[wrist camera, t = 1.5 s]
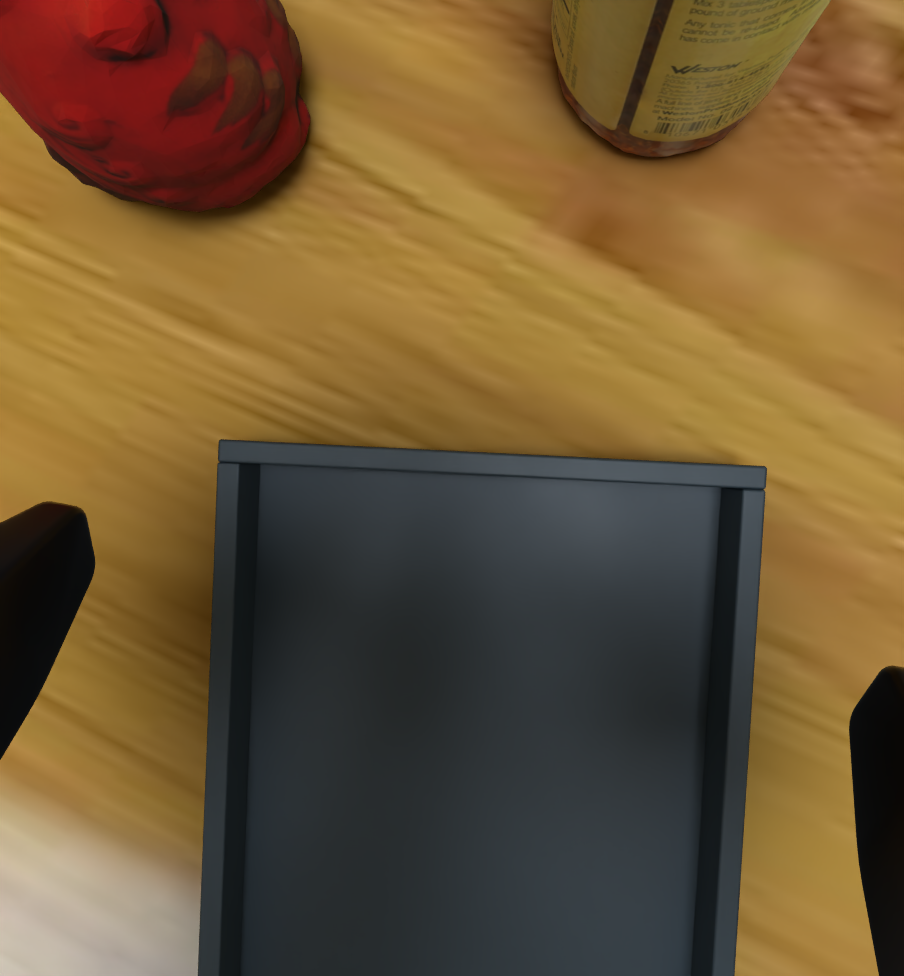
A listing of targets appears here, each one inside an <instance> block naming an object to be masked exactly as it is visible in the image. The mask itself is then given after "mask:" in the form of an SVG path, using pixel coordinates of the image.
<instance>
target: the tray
mask: <svg viewBox="0 0 904 976" xmlns="http://www.w3.org/2000/svg"><path fill="white" fill-rule="evenodd" d="M218 460H219V463H218V468H217V494H216V520H215V546H214V572H213V598H212V623H211V649H210V675H209V701H208V727H207V753H206V779H205V805H204V831H203V856H202V882H201V908H200V934H199V960H198V976H734V973H735V957H736V942H737V926H738V911H739V895H740V879H741V864H742V848H743V833H744V817H745V802H746V786H747V770H748V755H749V739H750V724H751V708H752V693H753V677H754V661H755V646H756V630H757V615H758V599H759V584H760V568H761V553H762V537H763V521H764V506H765V491H764V490H763V489H765V487H766V475H767V468H766V467H765V466H751V465H730V464H710V463H690V462H670V461H649V460H629V459H609V458H588V457H568V456H548V455H528V454H507V453H487V452H467V451H447V450H426V449H406V448H386V447H365V446H345V445H325V444H305V443H284V442H264V441H244V440H224V439H221V440H219V449H218Z"/></svg>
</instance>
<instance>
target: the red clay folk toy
mask: <svg viewBox="0 0 904 976" xmlns="http://www.w3.org/2000/svg"><path fill="white" fill-rule="evenodd" d="M301 71H302V56H301V53H300V47H299V42H298V40H297V37H296V35H295V32H294V30H293V29H292V28H291V27H290V25H289V23H288V22H287V18H286V14H285V10H284V8H283V6H282V4H281V2H280V1H279V0H0V92H1V93H2V95H3V96H4V97H5V98H6V99H7V100H8V102H9V103H10V104H11V105H12V106H13V107H14V109H15V110H16V111H17V112H18V113H19V114H20V116H21V117H22V118H23V119H24V120H25V122H26V123H27V124H28V125H29V126H30V127H31V129H32V130H33V131H34V132H35V133H37V134H38V135H39V136H40V137H41V138H42V139H43V140H44V143H45V145H46V148H47V150H48V152H49V154H50V155H51V156H52V158H53V159H54V160H55V161H57V162H58V163H59V164H61V165H62V166H64V167H65V168H67V169H68V170H69V171H70V172H71V173H72V174H73V175H74V176H75V177H76V178H77V179H79V180H80V181H81V182H82V183H83V184H86V185H90V186H93V187H97V188H99V189H101V190H103V191H105V192H107V193H109V194H111V195H113V196H115V197H117V198H119V199H122V200H127V201H144V202H147V203H150V204H153V205H158V206H163V207H169V208H172V209H178V210H183V211H195V212H202V211H205V210H208V209H212V208H219V207H225V208H230V207H233V206H236V205H238V204H241V203H242V202H244V201H246V200H248V199H250V198H252V197H253V196H254V195H256V194H257V193H258V192H259V191H260V190H261V189H262V188H263V187H264V186H265V185H266V184H268V183H269V182H271V181H272V180H274V179H275V178H276V177H277V176H278V175H279V174H280V173H281V172H282V171H283V170H284V169H285V168H286V167H287V166H288V165H290V163H291V162H292V161H294V159H295V158H296V157H297V155H298V154H299V152H300V151H301V149H302V147H303V145H304V144H305V142H306V135H307V132H308V127H309V124H310V115H309V112H308V110H307V107H306V105H305V103H304V101H303V99H302V98H301V96H300V94H299V83H300V76H301Z"/></svg>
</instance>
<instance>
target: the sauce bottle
mask: <svg viewBox="0 0 904 976" xmlns="http://www.w3.org/2000/svg"><path fill="white" fill-rule="evenodd" d="M830 1H831V0H553V6H552V15H551V29H552V40H553V48H554V52H555V56H556V60H557V63H558V74H559V81H560V85H561V88H562V92H563V95H564V97H565V98H566V100H567V101H568V102H569V104H570V105H571V106H572V107H573V109H574V110H575V112H576V113H577V115H578V116H579V118H580V119H581V120H582V121H583V122H585V123H586V124H587V125H589V126H590V127H591V129H592V130H594V131H595V132H596V133H597V134H598V135H599V136H600V137H602V138H604V139H606V140H608V141H609V142H610V143H611V144H612V145H614V146H615V147H618V148H620V149H621V150H622V151H624V152H628V153H633V154H637V155H640V156H649V157H658V156H662V157H667V156H671V155H674V154H680V153H684V152H689V151H694V150H697V149H700V148H703V147H707V146H709V145H711V144H713V143H715V142H718V141H720V140H721V139H723V138H724V137H725V136H726V135H727V134H728V133H729V131H731V130H732V129H733V128H734V127H735V126H736V125H737V124H738V123H739V122H740V121H742V120H743V118H744V117H745V116H746V115H747V114H748V113H749V112H750V111H751V110H752V109H753V108H755V107H756V106H757V105H758V104H759V103H760V102H761V101H762V100H763V99H764V98H765V97H766V96H767V95H768V94H769V92H770V91H771V90H772V88H773V87H774V85H775V84H776V82H777V80H778V79H779V77H780V76H781V74H782V73H783V71H784V70H785V68H786V67H787V65H788V64H789V62H790V61H791V59H792V58H793V56H794V54H795V53H796V51H797V50H798V48H799V47H800V45H801V44H802V42H803V41H804V39H805V38H806V36H807V35H808V33H809V32H810V30H811V29H812V27H813V26H814V24H815V23H816V21H817V20H818V18H819V17H820V16H821V14H822V13H823V11H824V10H825V8H826V7H827V5H828V4H829V2H830Z"/></svg>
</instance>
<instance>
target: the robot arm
mask: <svg viewBox="0 0 904 976" xmlns="http://www.w3.org/2000/svg"><path fill="white" fill-rule="evenodd" d="M94 569H95V556H94V551H93V546H92V541H91V536H90V531H89V527H88V522H87V518H86V514H85V513H84V511H83V510H82V509H81V508H79V507H77V506H72V505H67V504H62V503H56V502H42V503H40V504H37V505H35V506H33V507H31V508H29V509H27V510H25V511H23V512H21V513H19V514H17V515H15V516H13V517H11V518H9V519H7V520H5V521H3V522H1V523H0V760H1V758H2V756H3V755H4V753H5V751H6V750H7V748H8V746H9V745H10V743H11V741H12V740H13V738H14V736H15V735H16V733H17V731H18V730H19V728H20V726H21V725H22V723H23V721H24V720H25V718H26V716H27V715H28V713H29V711H30V709H31V708H32V706H33V704H34V702H35V700H36V699H37V697H38V695H39V693H40V691H41V689H42V687H43V685H44V683H45V681H46V679H47V677H48V675H49V673H50V670H51V668H52V666H53V664H54V662H55V659H56V657H57V655H58V653H59V651H60V648H61V646H62V644H63V642H64V640H65V637H66V635H67V633H68V631H69V629H70V626H71V624H72V622H73V620H74V618H75V615H76V613H77V611H78V609H79V607H80V604H81V602H82V600H83V598H84V596H85V593H86V591H87V589H88V587H89V585H90V582H91V580H92V577H93V574H94ZM849 735H850V749H851V764H852V779H853V793H854V808H855V823H856V837H857V848H858V858H859V866H860V872H861V879H862V885H863V891H864V896H865V901H866V907H867V912H868V918H869V923H870V929H871V934H872V939H873V945H874V950H875V956H876V961H877V967H878V972H879V976H904V668H903V667H898V666H888V667H885V668H884V669H882V670H881V671H880V672H879V674H878V675H877V676H876V678H875V679H874V681H873V682H872V684H871V685H870V686H869V688H868V689H867V691H866V692H865V694H864V695H863V697H862V698H861V699H860V701H859V702H858V704H857V705H856V707H855V708H854V710H853V712H852V715H851V719H850V726H849Z"/></svg>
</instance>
